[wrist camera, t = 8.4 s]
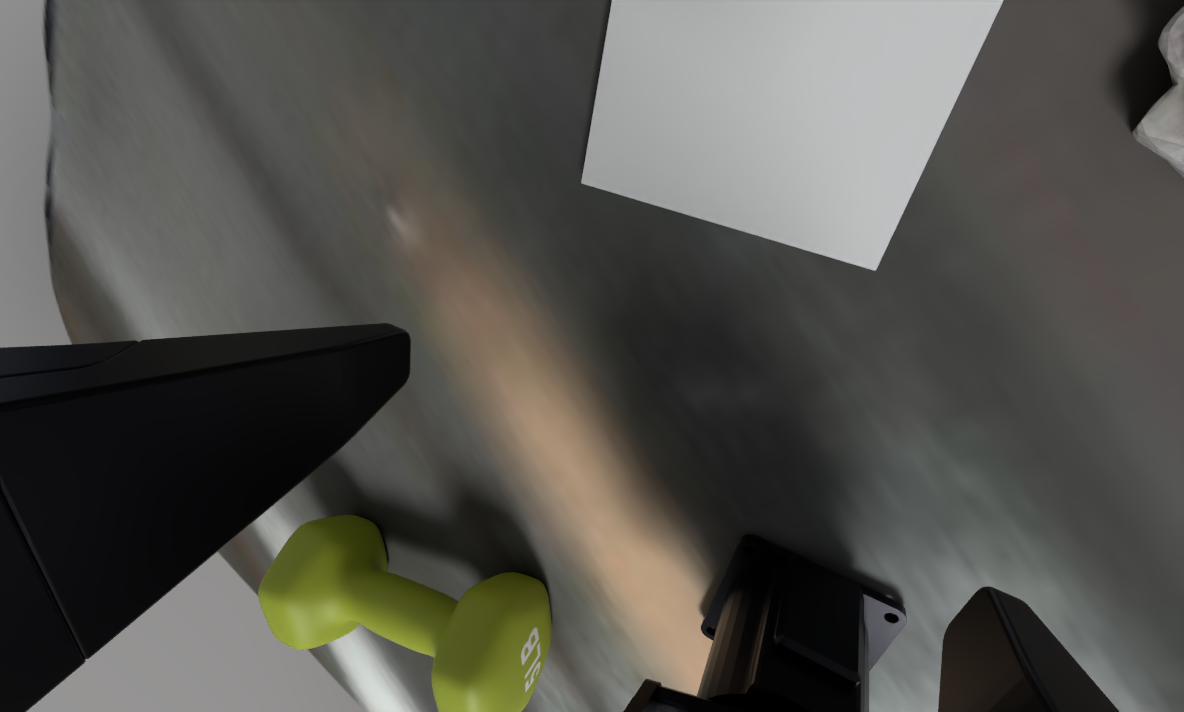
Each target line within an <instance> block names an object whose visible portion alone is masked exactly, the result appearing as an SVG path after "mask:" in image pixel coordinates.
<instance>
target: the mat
mask: <svg viewBox="0 0 1184 712" xmlns="http://www.w3.org/2000/svg"><path fill="white" fill-rule="evenodd" d="M1002 2H1003V0H612V4H611V9H610V15H609V21H608V27H607V33H606V39H605V45H604V51H603V57H602V63H601V69H600V75H599V81H598V87H597V92H596V98H595V104H594V110H593V116H592V122H591V128H590V134H589V140H588V146H587V152H586V158H585V164H584V170H583V175H582V181H581V183H582V184H585V185H589V186H592V187H595V188H599V189H602V190H605V191H609V192H612V193H615V194H619V195H622V196H626V197H629V198H632V199H636V200H639V201H642V202H646V203H649V204H652V205H656V206H659V207H663V208H666V209H669V210H673V211H676V212H679V213H683V214H686V215H689V216H693V217H696V218H699V219H703V220H706V221H710V222H713V223H716V224H720V225H723V226H726V227H730V228H733V229H736V230H740V231H743V232H747V233H750V234H753V235H757V236H760V237H763V238H767V239H770V240H773V241H777V242H780V243H784V244H787V245H790V246H794V247H797V248H800V249H804V250H807V251H810V252H814V253H817V254H820V255H824V256H827V257H831V258H834V259H837V260H841V261H844V262H847V263H851V264H854V265H857V266H861V267H864V268H868V269H871V270H874V271H876V269H877V267H878V265H879V263H880V260H881V258H882V256H883V254H884V252H885V250H886V248H887V246H888V243H889V241H890V239H891V237H892V235H893V233H894V231H895V229H896V227H897V224H898V222H899V220H900V218H901V216H902V214H903V212H904V210H905V208H906V205H907V203H908V201H909V199H910V197H911V195H912V193H913V191H914V188H915V186H916V184H917V182H918V180H919V178H920V176H921V174H922V172H923V169H924V167H925V165H926V163H927V161H928V159H929V157H930V155H931V153H932V150H933V148H934V146H935V144H936V142H937V140H938V138H939V136H940V133H941V131H942V129H943V127H944V125H945V123H946V121H947V119H948V117H949V114H950V112H951V110H952V108H953V106H954V104H955V102H956V100H957V98H958V95H959V93H960V91H961V89H962V87H963V85H964V83H965V81H966V78H967V76H968V74H969V72H970V70H971V68H972V66H973V64H974V62H975V59H976V57H977V55H978V53H979V51H980V49H981V47H982V45H983V43H984V40H985V38H986V36H987V34H988V32H989V30H990V28H991V26H992V23H993V21H994V19H995V17H996V15H997V13H998V11H999V9H1000V7H1001V4H1002Z"/></svg>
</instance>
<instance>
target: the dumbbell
mask: <svg viewBox="0 0 1184 712" xmlns="http://www.w3.org/2000/svg"><path fill="white" fill-rule="evenodd" d="M387 571H388V563H387V556H386V550H385V546H384V543H383V539H382V536H381V533H380V531H379V529H378V528H377V526H376V525H375V524H374V523H373V522H371V521H369V520H367V519H364V518H361V517H358V516H355V515H339V516H333V517H327V518H322V519H317V520H313V521H310V522H307V523H305V524H303V525H301V526H300V527H299V528H298V529H297V530H296V531H295V532H294V533H293V534H292V535H291V537H290V538H289V539H288V541H287V542H286V543H285V545H284V546H283V548H282V549H281V551H280V552H279V554H278V555H277V557H276V558H275V560H274V561H273V563H272V564H271V566H270V567H269V569H268V571H267V572H266V574H265V576H264V578H263V580H262V582H261V584H260V587H259V590H258V597H259V602H260V605H261V608H262V611H263V613H264V615H265V618H266V620H267V622H268V625H269V627H270V629H271V631H272V633H273V634H274V636H275V637H276V638H277V639H278V640H279V641H280V642H282V643H284V644H286V645H288V646H289V647H292V648H294V649H300V650H304V649H310V648H314V647H318V646H321V645H324V644H326V643H329V642H332V641H334V640H336V639H338V638H340V637H342V636H344V635H346V634H348V633H350V632H351V631H353V630H354V629H355V628H356V627H358V626H359V624H362V625H363V626H365V627H366V628H368V629H369V630H371V631H373V632H375V633H377V634H379V635H381V636H383V637H385V638H387V639H389V640H391V641H393V642H395V643H397V644H400V645H402V646H404V647H407V648H409V649H411V650H414V651H417V652H420V653H423V654H427V655H430V656H432V657H434V662H433V667H432V687H433V692H434V696H435V701H436V704H437V708H438V711H439V712H521V711H522V710H523V709H524V708H525V706H526V705H527V703H528V701H529V699H530V698H531V696H532V693H533V691H534V689H535V686H536V684H537V681H538V679H539V676H540V673H541V670H542V668H543V665H544V662H545V659H546V656H547V653H548V650H549V646H550V642H551V636H552V623H551V613H550V603H549V597H548V593H547V590H546V588H545V586H544V585H543V583H542V582H541V581H539V580H538V579H535V578H533V577H530V576H527V575H524V574H521V573H516V572H506V573H501V574H498V575H496V576H493V577H491V578H489V579H487V580H484V581H482V582H480V583H478V584H476V585H474V586H473V587H471V588H470V589H468V590H467V591H466V592H465V594H464V595H463V596H462V598H461V599H460V600H459V601H457V600H455V599H453V598H452V597H450V596H448V595H446V594H444V593H441V592H439V591H437V590H434V589H432V588H429V587H427V586H425V585H422V584H420V583H417V582H415V581H412V580H409V579H407V578H404V577H401V576H399V575H396V574H392V573H388V572H387Z"/></svg>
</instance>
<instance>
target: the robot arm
mask: <svg viewBox="0 0 1184 712" xmlns="http://www.w3.org/2000/svg"><path fill="white" fill-rule="evenodd" d="M410 354H411V339H410V336H409V333H408V332H407V331H405V330H403V329H401V328H399V327H396V326H394V325H392V324H388V323H380V324H366V325H351V326H337V327H323V328H308V329H294V330H280V331H265V332H251V333H236V334H222V335H208V336H193V337H179V338H165V339H150V340H142V341H140V342H138V341H120V342H106V343H89V344H72V345H55V346H31V347H8V348H0V712H26V711H27V710H29V709H30V708H31V707H32V706H33V705H35V704H36V703H37V702H38V701H39V700H41V699H42V698H43V697H44V696H45V695H47V694H48V693H49V692H50V691H51V690H52V689H54V688H55V687H56V686H57V685H59V684H60V683H61V682H62V681H63V680H65V679H66V678H67V677H68V676H69V675H71V674H72V673H73V672H74V671H75V670H77V669H78V668H79V667H80V666H81V665H82V664H84V663H85V659H89V658H90V657H91V656H92V655H94V654H95V653H96V652H97V651H99V650H100V649H101V648H102V647H103V646H105V645H106V644H107V643H108V642H109V641H111V640H112V639H113V638H114V637H115V636H116V635H118V634H119V633H120V632H121V631H123V630H124V629H125V628H126V627H127V626H129V625H130V624H131V623H132V622H133V621H135V620H136V619H137V618H138V617H139V616H141V615H142V614H143V613H144V612H145V611H147V610H148V609H149V608H150V607H151V606H153V605H154V604H155V603H156V602H157V601H159V600H160V599H161V598H162V597H163V596H165V595H166V594H167V593H168V592H169V591H171V590H172V589H173V588H174V587H175V586H176V585H178V584H179V583H180V582H181V581H183V580H184V579H185V578H186V577H187V576H189V575H190V574H191V573H192V572H193V571H195V570H196V569H197V568H198V567H199V566H200V565H202V564H203V563H204V562H205V561H207V560H208V559H209V558H210V557H211V556H213V555H214V554H215V553H216V552H217V551H219V550H220V549H221V548H222V547H223V546H225V545H226V544H227V543H228V542H229V541H231V540H232V539H233V538H234V537H235V536H237V535H238V534H239V533H240V532H241V531H243V530H244V529H245V528H246V527H247V526H249V525H250V524H251V523H252V522H253V521H255V520H256V519H257V518H258V517H259V516H261V515H262V514H263V513H264V512H265V511H267V510H268V509H269V508H270V507H271V506H273V505H274V504H275V503H276V502H277V501H279V500H280V499H281V498H282V497H283V496H285V495H286V494H287V493H288V492H289V491H291V490H292V489H293V488H294V487H295V486H297V485H298V484H299V483H300V482H301V481H303V480H304V479H305V478H306V477H307V476H309V475H310V474H311V473H312V472H313V471H315V470H316V469H317V468H318V467H319V466H321V465H322V464H323V463H324V462H325V461H327V460H328V459H329V458H330V457H331V456H333V455H334V454H335V453H336V452H337V451H338V450H339V449H341V448H342V447H343V446H344V445H345V444H346V443H347V442H348V441H349V440H350V439H351V438H353V437H354V436H355V435H356V434H357V433H358V432H359V431H360V430H361V429H362V428H363V427H364V426H365V425H366V424H367V422H368V421H369V420H370V419H371V418H372V417H373V416H374V415H375V414H376V413H377V412H378V411H379V410H380V409H381V408H382V407H383V406H384V405H385V404H386V403H387V402H388V401H389V400H390V399H391V398H392V397H393V396H394V395H395V394H396V393H397V392H398V391H399V390H400V389H401V388H402V387H403V386H404V385H405V383H406V382H407V380H408V378H409V375H410ZM747 546H752V547H754V548H755V549H750V548H749V547H747ZM887 613H893V614H896V615H889V614H887ZM906 622H907V618H906V610H905V608H904V607H903V606H902V605H901V604H900V603H898V602H896V601H894V600H892V599H890V598H888V597H886V596H884V595H881V594H879V593H877V592H875V591H873V590H871V589H869V588H866V587H864V586H862V585H860V584H858V583H856V582H854V581H851V580H849V579H847V578H845V577H843V576H841V575H839V574H836V573H834V572H832V571H830V570H828V569H826V568H824V567H821V566H819V565H817V564H815V563H813V562H811V561H809V560H806V559H804V558H802V557H800V556H798V555H796V554H794V553H791V552H789V551H787V550H785V549H783V548H781V547H779V546H776V545H774V544H772V543H770V542H768V541H766V540H764V539H761V538H759V537H757V536H754V535H744V536H743V537H742V538H741V539H740V541H739V543H738V545H737V548H736V550H735V552H734V554H733V556H732V558H731V561H730V563H729V565H728V567H727V569H726V571H725V574H724V576H723V578H722V580H721V582H720V584H719V587H718V589H717V591H716V593H715V595H714V597H713V600H712V602H711V604H710V606H709V608H708V610H707V613H706V615H705V617H704V619H703V622H702V625H701V630H702V633H703V634H704V635H705V636H706V637H708V638H710V639H711V640H713V643H712V647H711V650H710V653H709V657H708V660H707V664H706V667H705V670H704V674H703V677H702V681H701V684H700V687H699V691H698V694H697V696H694V695H691V694H688V693H684V692H681V691H677V690H674V689H670V688H667V687H664V686H661V683H660V682H656V681H653V680H649V679H645V681H644V682H643V684H642V685H641V687H640V688H639V690H638V691H637V693H636V695H635V696H634V697H633V698H632V700H631V701H630V703H629V704H628V706H627V707H626V709H625V710H624V712H869V671H870V670H871V669H872V667H873V666H874V665H875V664H876V662H877V661H878V660H879V658H880V657H881V656H882V654H883V653H884V652H885V651H886V649H887V648H888V647H889V645H890V644H891V643H892V641H893V640H894V639H895V638H896V636H897V635H898V634H899V632H900V631H901V630H902V628H903V627H904V626H905V624H906ZM711 627H712V628H711ZM938 712H1119V711H1118V709H1117V708H1116V707H1115V706H1114V705H1113V704H1112V702H1111V701H1110V700H1109V699H1108V698H1107V697H1106V695H1105V694H1104V693H1103V692H1102V691H1101V690H1100V688H1099V687H1098V686H1097V685H1096V684H1095V683H1094V681H1093V680H1092V679H1091V678H1090V677H1089V676H1088V674H1087V673H1086V672H1085V671H1084V670H1083V669H1082V668H1081V666H1080V665H1079V664H1078V663H1077V662H1076V661H1075V659H1074V658H1073V657H1072V656H1071V655H1070V654H1069V652H1068V651H1067V650H1066V649H1065V648H1064V647H1063V645H1062V644H1061V643H1060V642H1059V641H1058V640H1057V638H1056V637H1055V636H1054V635H1053V634H1052V633H1051V631H1050V630H1049V629H1048V628H1047V627H1046V626H1045V625H1044V623H1043V622H1042V621H1041V620H1040V619H1039V618H1038V616H1037V615H1036V614H1035V613H1034V612H1033V611H1032V609H1031V608H1030V607H1029V606H1028V605H1027V604H1026V603H1025V602H1023V601H1022V600H1020V599H1018V598H1016V597H1013V596H1011V595H1009V594H1007V593H1004V592H1002V591H1000V590H997V589H995V588H993V587H982V588H981V589H979V590H978V591H977V592H976V593H975V594H974V595H973V596H972V597H971V599H970V600H969V601H968V602H967V603H966V605H965V606H964V607H963V608H962V609H961V611H960V612H959V613H958V614H957V615H956V617H955V618H954V619H953V620H952V621H951V623H950V624H949V626H948V627H947V629H946V632H945V635H944V639H943V650H942V664H941V679H940V694H939V709H938Z"/></svg>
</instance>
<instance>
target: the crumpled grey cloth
mask: <svg viewBox="0 0 1184 712" xmlns="http://www.w3.org/2000/svg"><path fill="white" fill-rule="evenodd" d="M1158 46H1159V49H1160V51H1161V53H1162V55H1163V57H1164V59H1165V60H1166V62H1167V64H1168V67H1169V71H1170V75H1171V79H1172V83H1173V86H1172V87H1171V88H1170V89H1169V90H1168V91H1167V92H1166V93H1165V94H1164V95H1163V96H1162V97H1161V98H1160V99H1159V100H1157V101H1156V102H1155V103H1154V104H1153V105H1152V106H1151V107H1150V109H1149V110H1148V112H1147V113H1146V115H1145V116H1144V117H1143V118H1142V120H1141V121H1140V122H1139V124H1138V125H1137V126H1136V128H1135V129H1134V131H1133V132H1132V134H1133V137H1134V138H1135V140H1137V141H1138V142H1140V143H1141V144H1143V145H1144V146H1146V147H1147V148H1149V149H1150V150H1152V151H1153V152H1155V153H1156V154H1158V155H1160V156H1161V157H1162V158H1164V159H1165V160H1167V161H1168V162H1169V163H1170V164H1171V166H1172V167H1173V168H1174V169H1175V170H1176V171H1177V172H1178V173H1179V174H1180V175H1181V176H1182V177H1183V178H1184V6H1183V7H1182V8H1181V9H1180V10H1179V11H1178V12H1177V13H1176V14H1175V15H1174V16H1173V17H1172V18H1171V19H1170V20H1169V22H1168V23H1167V24H1166V26H1165V27H1164V28H1163V31H1162V33H1161V36H1160V38H1159V41H1158Z"/></svg>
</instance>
